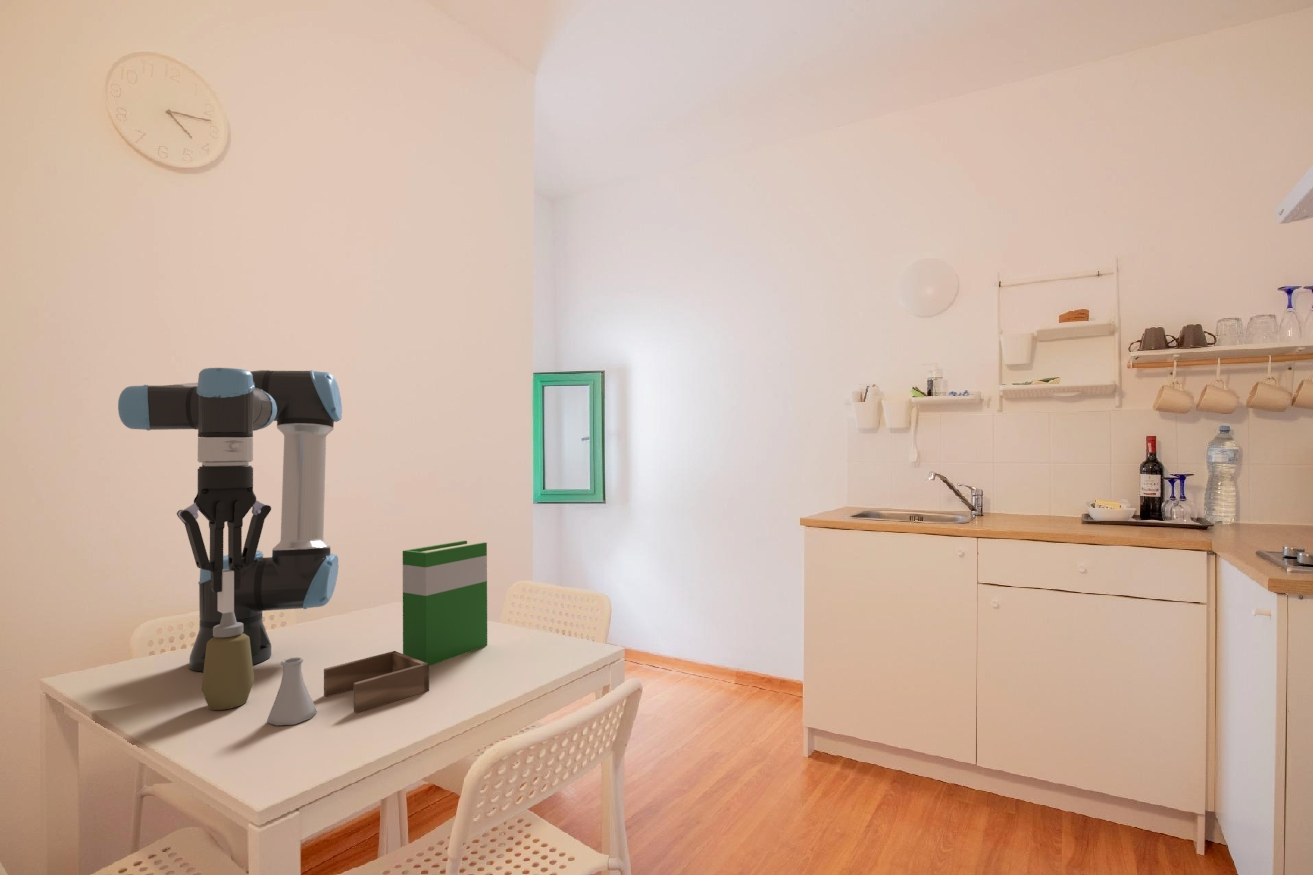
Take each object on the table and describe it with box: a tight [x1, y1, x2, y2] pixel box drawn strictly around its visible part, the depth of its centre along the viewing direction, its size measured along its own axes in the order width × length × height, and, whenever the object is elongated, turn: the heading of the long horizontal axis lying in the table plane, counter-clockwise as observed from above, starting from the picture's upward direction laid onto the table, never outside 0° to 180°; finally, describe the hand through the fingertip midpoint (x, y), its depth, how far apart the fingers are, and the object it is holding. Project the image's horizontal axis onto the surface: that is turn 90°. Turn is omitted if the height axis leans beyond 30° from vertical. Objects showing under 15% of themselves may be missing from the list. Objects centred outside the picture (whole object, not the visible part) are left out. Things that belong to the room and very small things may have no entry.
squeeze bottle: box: [200, 612, 255, 711], centre depth 120 cm, size 8×8×18 cm
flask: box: [266, 656, 318, 726], centre depth 114 cm, size 7×7×10 cm
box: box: [323, 650, 430, 714], centre depth 125 cm, size 13×14×5 cm
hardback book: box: [402, 540, 488, 667], centre depth 150 cm, size 18×7×24 cm, turn 149°
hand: (225, 611), depth 106 cm, fingers closed
